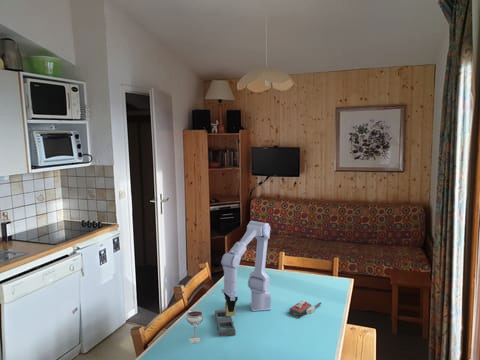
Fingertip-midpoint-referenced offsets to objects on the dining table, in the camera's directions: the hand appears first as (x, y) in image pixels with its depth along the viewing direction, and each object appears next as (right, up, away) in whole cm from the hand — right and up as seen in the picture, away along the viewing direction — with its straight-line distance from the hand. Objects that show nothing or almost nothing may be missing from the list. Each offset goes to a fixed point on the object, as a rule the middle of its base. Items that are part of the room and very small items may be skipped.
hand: (230, 309), depth 169 cm
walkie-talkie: (+37, -7, +18) cm, 42 cm away
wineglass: (-15, -10, -9) cm, 20 cm away
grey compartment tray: (-3, -8, +4) cm, 9 cm away
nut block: (0, -2, 0) cm, 2 cm away
